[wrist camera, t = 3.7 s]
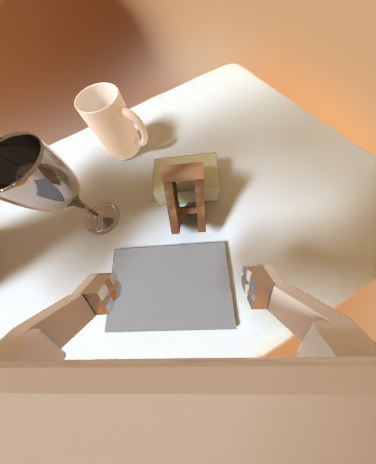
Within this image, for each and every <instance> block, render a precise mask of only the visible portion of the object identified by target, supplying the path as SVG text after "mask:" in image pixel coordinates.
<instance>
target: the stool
mask: <svg viewBox="0 0 376 464" xmlns="http://www.w3.org/2000/svg"><path fill="white" fill-rule="evenodd" d="M160 172H161V178H162V183H163V185H164V191H165V197H166V203H167V208H168V214H169V220H170V226H171V232H172V234H179V232H180V226H181V215H182V214H194V213H197V223H198V232H206V224H205V200H204V170H203V162H194V163H184V164H175V165H166V166H160ZM188 180H194V181H195V195H196V206H187V207H179V199H178V192H177V184H176V182H178V181H188Z"/></svg>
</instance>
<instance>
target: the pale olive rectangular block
mask: <svg viewBox="0 0 376 464" xmlns="http://www.w3.org/2000/svg"><path fill="white" fill-rule="evenodd" d="M194 162H203V170H204V200H205V201H215V200H218V199H219V194H220V190H221V185H220V178H219V171H218V165H217V158H216V152H215V153H206V154H197V155H188V156H179V157H170V158H161V159H154V177H153V196H154V197H155V199H156V201H157V202H158V204H159V205H167V203H166V197H165V191H164V185H163V183H162V178H161V172H160V166H166V165H175V164H184V163H194ZM176 184H177V192H178V199H179V204H182V203H193V202H196V195H195V181H194V180H188V181H178V182H176Z"/></svg>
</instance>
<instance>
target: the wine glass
mask: <svg viewBox="0 0 376 464" xmlns="http://www.w3.org/2000/svg"><path fill="white" fill-rule="evenodd" d="M0 200H1V201H4V202H7V203H10V204H13V205H16V206H20V207H24V208H28V209H33V210H38V211H45V212H54V211H60V210H64V209H68V208H79V209H82V210H84V211H87V212H89V214H88V216H87V219H86V225H87V228H88V230H89V231H90V232H92V233H94V234H104V233H107V232H109V231H110V230H112V229H113V228H114V227H115V225H116V224H117V222H118V219H119V211H118V209H117V207H116V206H115V205H113V204H111V203H102V204H99V205H97V206H95V207H94V208H93V209H91V208H90V207H89V206H87V205H86V204H85V203H84V202H83V201H82V199H81V193H80V184H79V180H78V178H77V177H76V175H75V173H74V172H73V171H72V170H71V168H70V167H69V166H68V165H67V164H66V163H65V162H64V161H63V159H62V158H61V157H60V156H59V155H58V154H56V153H55V152H54V151H53V150H52V149H51V148H50V147H49V146H48V145H46V144H45V143H44V142H43V141H42V140H41V139H39V138H38V137H37V136H35V135H34V134H31V133H29V132H16V133H11V134H8V135H5V136H3V137H0Z"/></svg>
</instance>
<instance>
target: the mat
mask: <svg viewBox="0 0 376 464" xmlns="http://www.w3.org/2000/svg"><path fill="white" fill-rule="evenodd" d="M112 273H116V274H117V276H118V278H117V280H118V281H119V282H120V283H121V286H122V290H121V294H120V296H119V297H118V298H117V299H116V300H115V305H114V307H113V309H112V311H111V312H110V314H107V318H106V326H105V332H137V331H177V330H217V329H236V322H235V314H234V307H233V300H232V292H231V285H230V278H229V270H228V263H227V256H226V248H225V242H214V243H199V244H185V245H170V246H155V247H141V248H126V249H115V251H114V260H113V268H112Z"/></svg>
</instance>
